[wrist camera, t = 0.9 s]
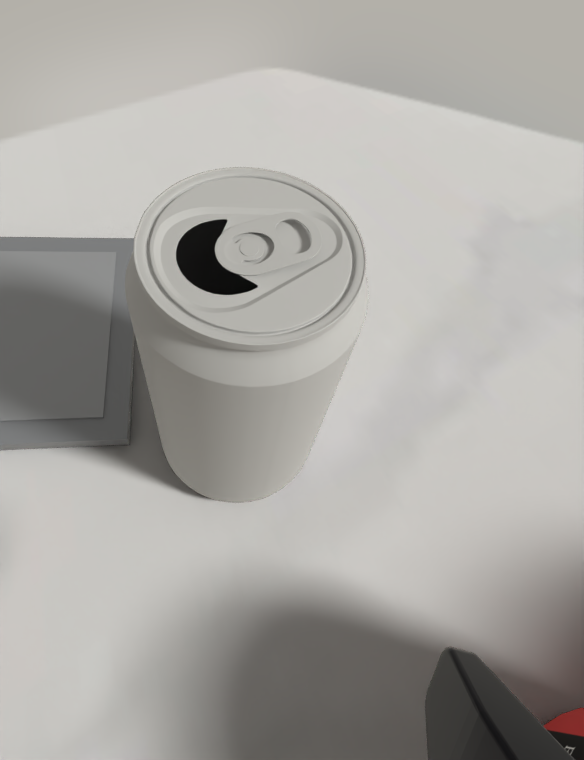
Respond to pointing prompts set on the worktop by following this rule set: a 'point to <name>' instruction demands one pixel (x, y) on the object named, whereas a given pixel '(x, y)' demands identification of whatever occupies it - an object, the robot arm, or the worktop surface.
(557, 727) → the canned food
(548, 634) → the worktop surface
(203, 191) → the beverage can
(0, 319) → the coaster
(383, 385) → the worktop surface
